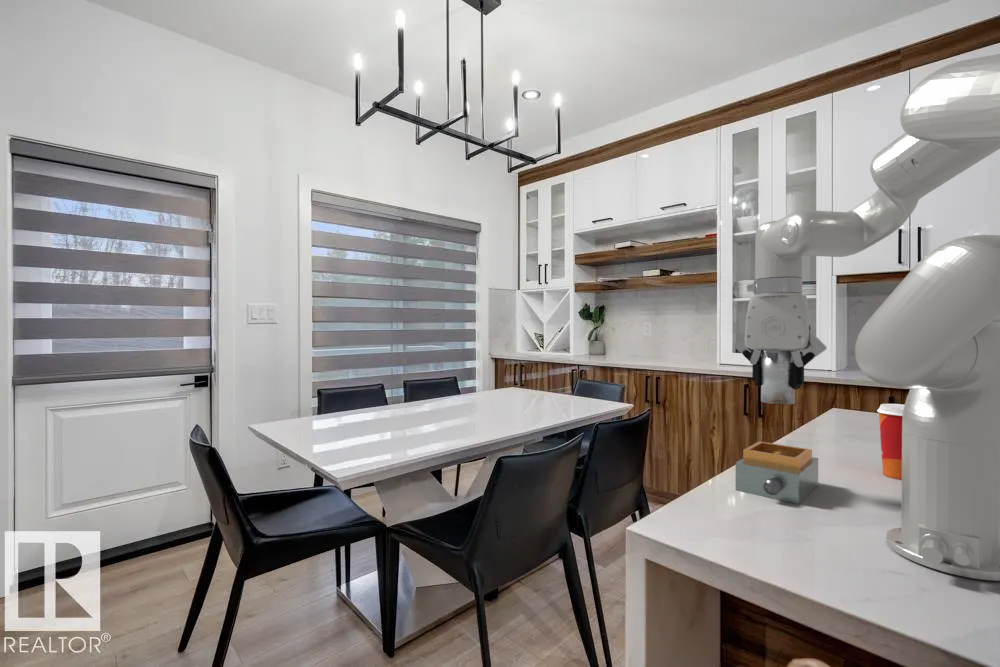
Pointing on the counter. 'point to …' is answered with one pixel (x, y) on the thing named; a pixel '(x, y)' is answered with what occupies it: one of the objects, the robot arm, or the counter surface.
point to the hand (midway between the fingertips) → (777, 385)
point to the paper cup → (891, 439)
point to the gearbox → (777, 471)
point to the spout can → (777, 377)
